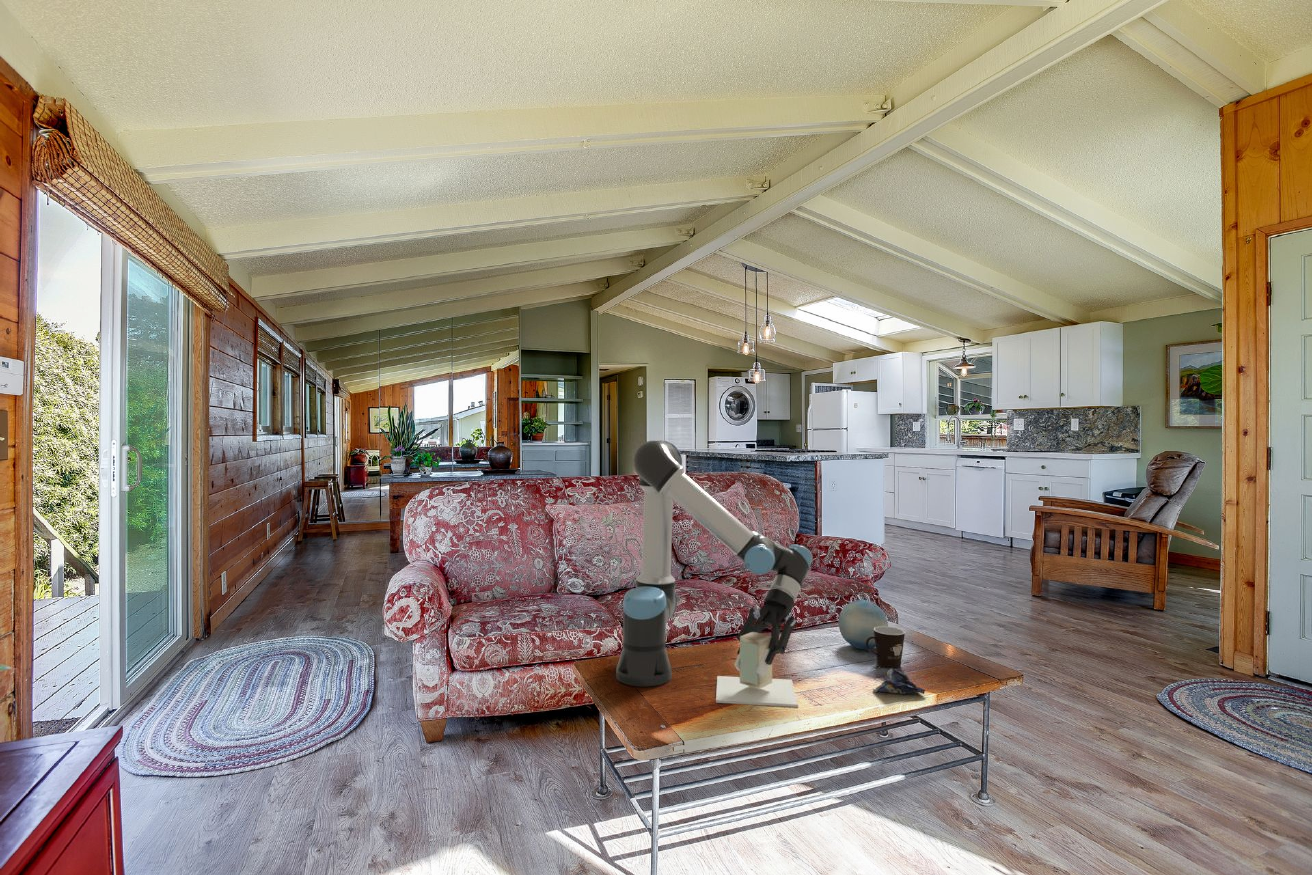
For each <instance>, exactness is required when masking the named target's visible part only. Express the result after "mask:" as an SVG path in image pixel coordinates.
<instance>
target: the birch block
mask: <svg viewBox="0 0 1312 875" xmlns="http://www.w3.org/2000/svg"><path fill="white" fill-rule="evenodd" d="M771 637H772V636H771V634H765V633H762V632H760V633H757V632H750V633H748V634H745V635H743V636H740V642H739V647H740V671H739V677H740V683H741V684H745V685H748V686H751V687H755V688H758V689H760V688H762V687H764V686H766V685H768V684H770V683H772V679H773V663H772V664H771V665H768V666H767V669H766V671H765V673H764V676H763V677H760V676H759V674H758V673H757V672H756V670H757V668H758V666H759V663H760V661H761V659H762V657H763V654H764V652H765V650H766V649H769V650H770V648H769V647H770V639H771ZM768 646H769V647H768Z"/></svg>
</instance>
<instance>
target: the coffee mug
mask: <svg viewBox="0 0 1312 875" xmlns="http://www.w3.org/2000/svg"><path fill="white" fill-rule="evenodd" d="M905 635H906V632H905V630H903V629H901V628H898V627H893V626H888V627H876V628H874V637H873V636H872V637H869V638H868V639H867V641H866V647H867V648H868V649H867V650H868V651H869V652H870V653H872V654H873V655H875V656H876V662H877V665H878V667H881V668H884V669H889V670H890V669H891V668H893V669H896V670H897V669H900V668H901V666H902V658H903V657H902V656H903V650H904V642H905ZM870 639H875V646H876V647H875V651H873V650H872V649H870V648H869V646H868V642H869V640H870Z"/></svg>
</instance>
